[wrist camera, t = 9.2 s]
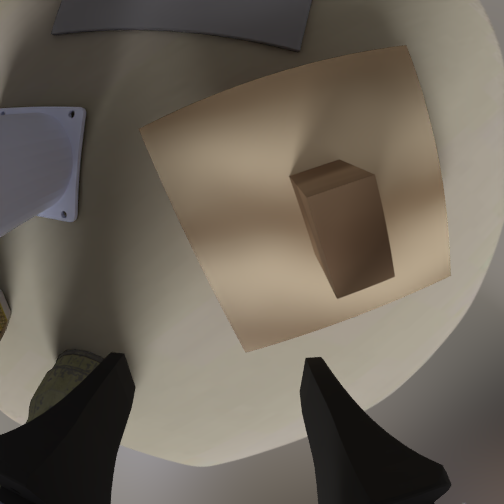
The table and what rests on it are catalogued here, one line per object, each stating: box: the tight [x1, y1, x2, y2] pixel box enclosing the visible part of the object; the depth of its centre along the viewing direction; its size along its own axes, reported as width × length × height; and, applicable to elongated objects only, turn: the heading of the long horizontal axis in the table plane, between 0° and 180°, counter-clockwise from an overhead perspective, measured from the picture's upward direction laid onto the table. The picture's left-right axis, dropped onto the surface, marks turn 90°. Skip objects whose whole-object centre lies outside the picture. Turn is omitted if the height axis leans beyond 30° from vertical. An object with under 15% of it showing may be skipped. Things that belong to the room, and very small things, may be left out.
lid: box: [139, 45, 451, 352], centre depth 12 cm, size 13×13×5 cm
